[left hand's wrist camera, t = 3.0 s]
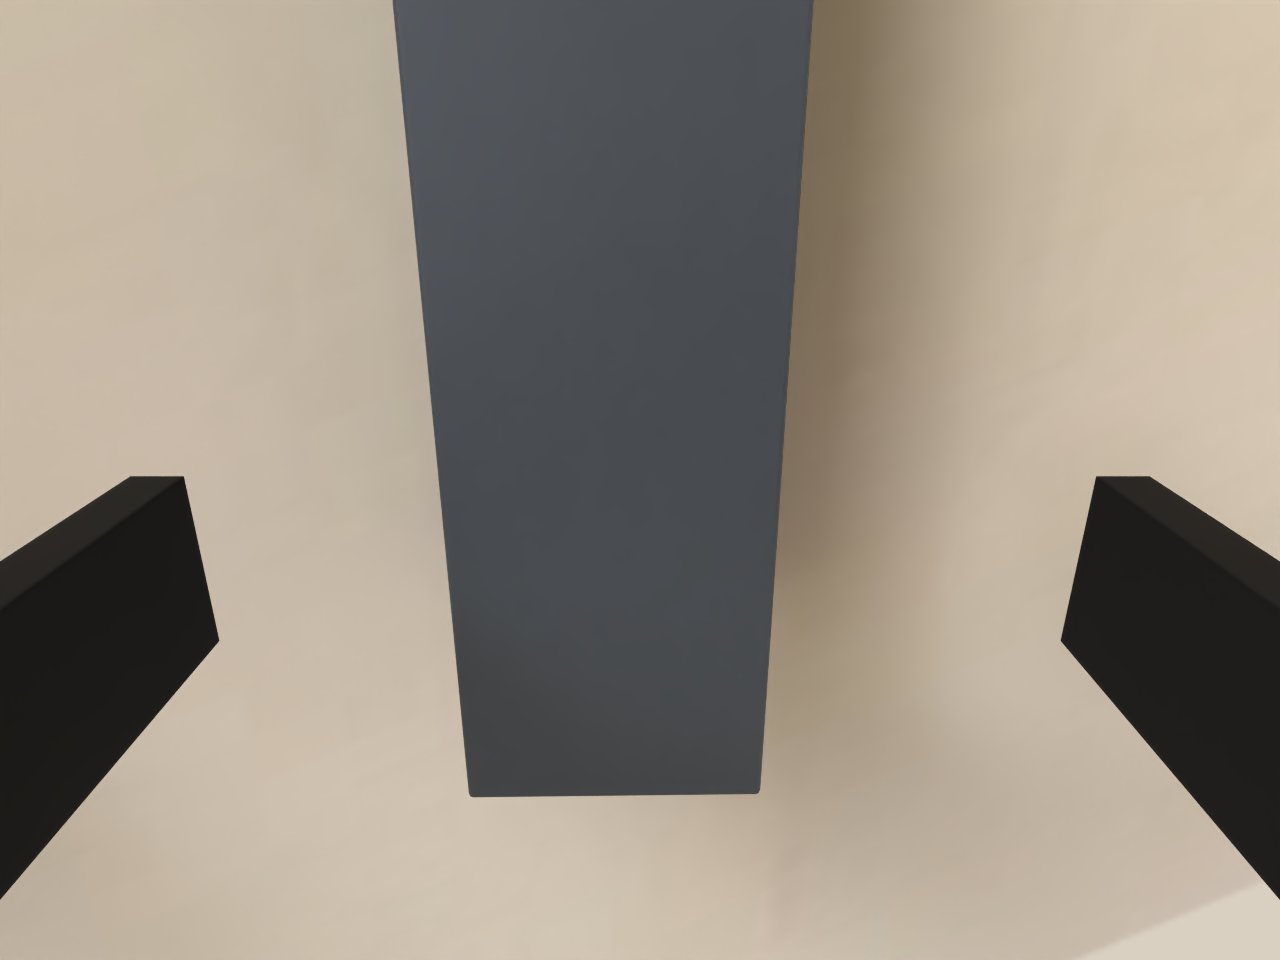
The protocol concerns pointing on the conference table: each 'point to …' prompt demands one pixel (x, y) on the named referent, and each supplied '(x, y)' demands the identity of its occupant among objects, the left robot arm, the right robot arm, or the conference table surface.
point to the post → (608, 373)
